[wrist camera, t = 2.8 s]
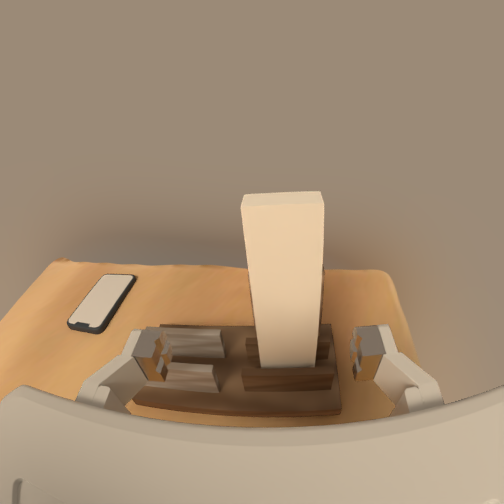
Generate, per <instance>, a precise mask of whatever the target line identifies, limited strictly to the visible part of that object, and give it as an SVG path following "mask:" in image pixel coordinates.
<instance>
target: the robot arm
mask: <svg viewBox="0 0 504 504" xmlns="http://www.w3.org/2000/svg"><path fill="white" fill-rule="evenodd" d="M352 334H353V339H352V340H351V342H350V358H351V361H352V362H353V363H354V366H353V374H354V379H355V382H356V381H367V380H373V381H374V382H375V383H376V384H377V385H378V386H379V388H380V389H381V390H382V391H383V392H384V393H385V394H386V395H387V396H388V398H389V399H390V400H391V401H392V402H393V403H394V404H395V405H396V406H395V408H394V409H393V411H392V413H391V414H390V416H389V417H386V418H380V419H374V420H367V421H360V422H352V423H343V424H333V425H321V426H306V427H274V428H260V427H229V426H213V425H201V424H191V423H182V422H174V421H166V420H160V419H153V418H147V417H142V416H136V415H131V413H130V412H129V411H128V410H127V408H126V407H125V405H126V404H127V403H128V402H129V401H130V400H131V399H132V398H133V397H134V396H135V395H136V394H137V393H138V392H139V391H140V390H141V389H142V388H143V387H144V386H145V385H146V383H147V382H148V381H159V382H165V380H166V377H167V373H168V369H167V367H166V366H167V365H168V364H170V363H171V360H172V346H171V344H170V343H169V342H168V341H167V340H166V339H167V335H166V333H165V332H164V331H155V330H141V329H134V330H133V331H132V332H131V334H130V336H129V338H128V340H127V343H126V345H125V347H124V349H123V352H122V354H121V355H118V356H116V357H115V358H114V359H112V360H111V361H110V362H108V363H107V364H106V365H104V366H103V367H102V368H101V369H99V370H98V371H97V372H95V373H94V374H93V375H91V376H90V377H89V378H87V379H86V380H85V381H84V382H83V385H82V387H81V389H80V391H79V393H78V396H77V398H76V400H75V401H73V400H70V399H66V398H63V397H60V396H57V395H54V394H51V393H48V392H45V391H42V390H39V389H36V388H34V387H31V386H28V385H21V386H19V387H17V388H16V389H14V390H13V391H12V392H10V393H9V394H8V395H6V396H5V397H4V398H3V399H2V401H1V403H0V504H504V385H502V386H499V387H497V388H494V389H492V390H489V391H486V392H483V393H481V394H478V395H475V396H471V397H468V398H465V399H462V400H459V401H455V402H452V403H448V404H444V401H443V398H442V395H441V391H440V389H439V386H438V383H437V381H436V380H435V379H433V378H432V377H431V376H430V375H429V374H427V373H426V372H425V371H424V370H422V369H421V368H420V367H419V366H418V365H416V364H415V363H414V362H413V361H412V360H410V359H409V358H408V357H407V356H405V355H404V354H403V353H402V352H399V353H398V350H397V347H396V344H395V341H394V338H393V335H392V333H391V330H390V327H389V325H388V324H383V325H372V326H363V327H354V329H353V333H352Z"/></svg>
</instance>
